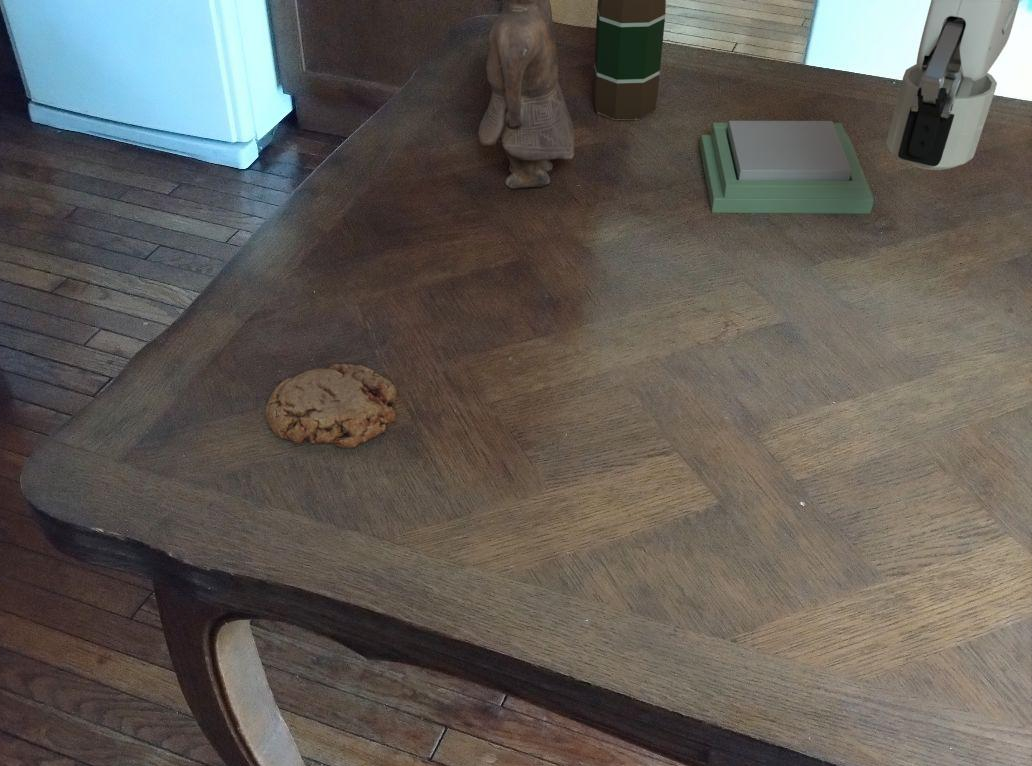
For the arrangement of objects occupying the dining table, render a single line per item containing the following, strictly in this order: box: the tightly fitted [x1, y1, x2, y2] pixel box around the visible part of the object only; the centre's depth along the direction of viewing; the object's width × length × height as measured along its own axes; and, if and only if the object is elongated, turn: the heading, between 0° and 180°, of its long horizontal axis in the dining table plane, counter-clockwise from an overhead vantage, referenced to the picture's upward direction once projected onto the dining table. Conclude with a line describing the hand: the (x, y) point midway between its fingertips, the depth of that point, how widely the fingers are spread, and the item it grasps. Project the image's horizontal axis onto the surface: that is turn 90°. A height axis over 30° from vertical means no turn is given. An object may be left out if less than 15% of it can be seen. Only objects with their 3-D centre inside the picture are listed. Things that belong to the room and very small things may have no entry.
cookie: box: [265, 363, 397, 448], centre depth 86 cm, size 10×11×3 cm
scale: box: [699, 122, 875, 215], centre depth 112 cm, size 16×14×3 cm
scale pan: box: [727, 120, 851, 181], centre depth 110 cm, size 11×11×1 cm
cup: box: [885, 63, 998, 171], centre depth 84 cm, size 7×7×6 cm
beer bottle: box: [592, 0, 667, 122], centre depth 116 cm, size 8×8×24 cm
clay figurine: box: [477, 0, 575, 190], centre depth 105 cm, size 13×10×25 cm
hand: (932, 139), depth 85 cm, fingers closed on cup, 7 cm apart
